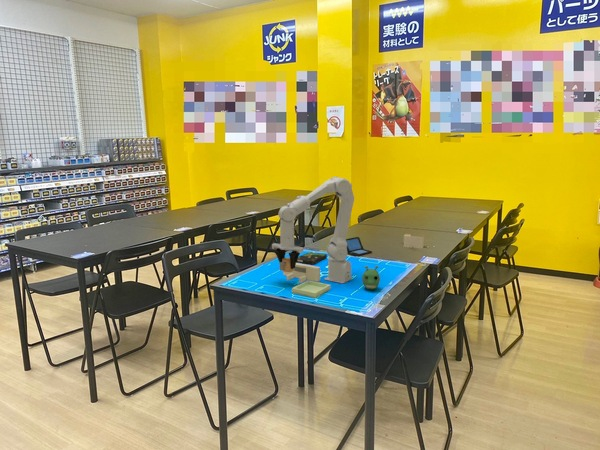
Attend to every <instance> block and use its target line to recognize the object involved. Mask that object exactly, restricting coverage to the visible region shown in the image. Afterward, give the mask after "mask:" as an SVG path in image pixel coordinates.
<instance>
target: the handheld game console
mask: <svg viewBox="0 0 600 450" xmlns="http://www.w3.org/2000/svg"><path fill="white" fill-rule="evenodd" d="M346 242H347V253H348V254H347V255H348V256H352V257H356V256H358V257H362V256H366V255H369V254H370V255H371V254H372V253H373V251H372V250H368V249H365V248H364V246H363V244H362V241H361V239H360V237H359V236H356V237H350V238H346Z"/></svg>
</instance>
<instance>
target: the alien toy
mask: <svg viewBox="0 0 600 450" xmlns="http://www.w3.org/2000/svg"><path fill="white" fill-rule="evenodd" d="M364 268H365V269H366V270H365V271H364V272H363V274H362V279H361V280H362V285H363V286H364V287H365V288H366V289H367V290H375V289H377V288H378V286H379V284H380V281H381V277H380V276H381V275H380V274H379V272H378V271H377V269H379V266H378V265H375V266H374V268H375V269H374V268H369V265H365V266H364Z"/></svg>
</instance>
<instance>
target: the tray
mask: <svg viewBox="0 0 600 450" xmlns="http://www.w3.org/2000/svg"><path fill="white" fill-rule="evenodd" d="M330 290H331V284H328V283H323V282H320V281H318V282H316V281H311V280H306V281H303V282H301V283H300V284H297V285H296V286H293V287H292V288H291V294H295V295H298V296H299V295H300V296H304V297H308V298H313V299H316V298H318V297H320V296H322V295H324V294H325V293H328V292H329V291H330Z"/></svg>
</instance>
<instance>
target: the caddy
mask: <svg viewBox="0 0 600 450" xmlns="http://www.w3.org/2000/svg"><path fill="white" fill-rule="evenodd" d="M279 271H282V272H293V271H294V269H291V263H290V256H288V257H286V256H285V258H283V259H282V262H281V263H279Z"/></svg>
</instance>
